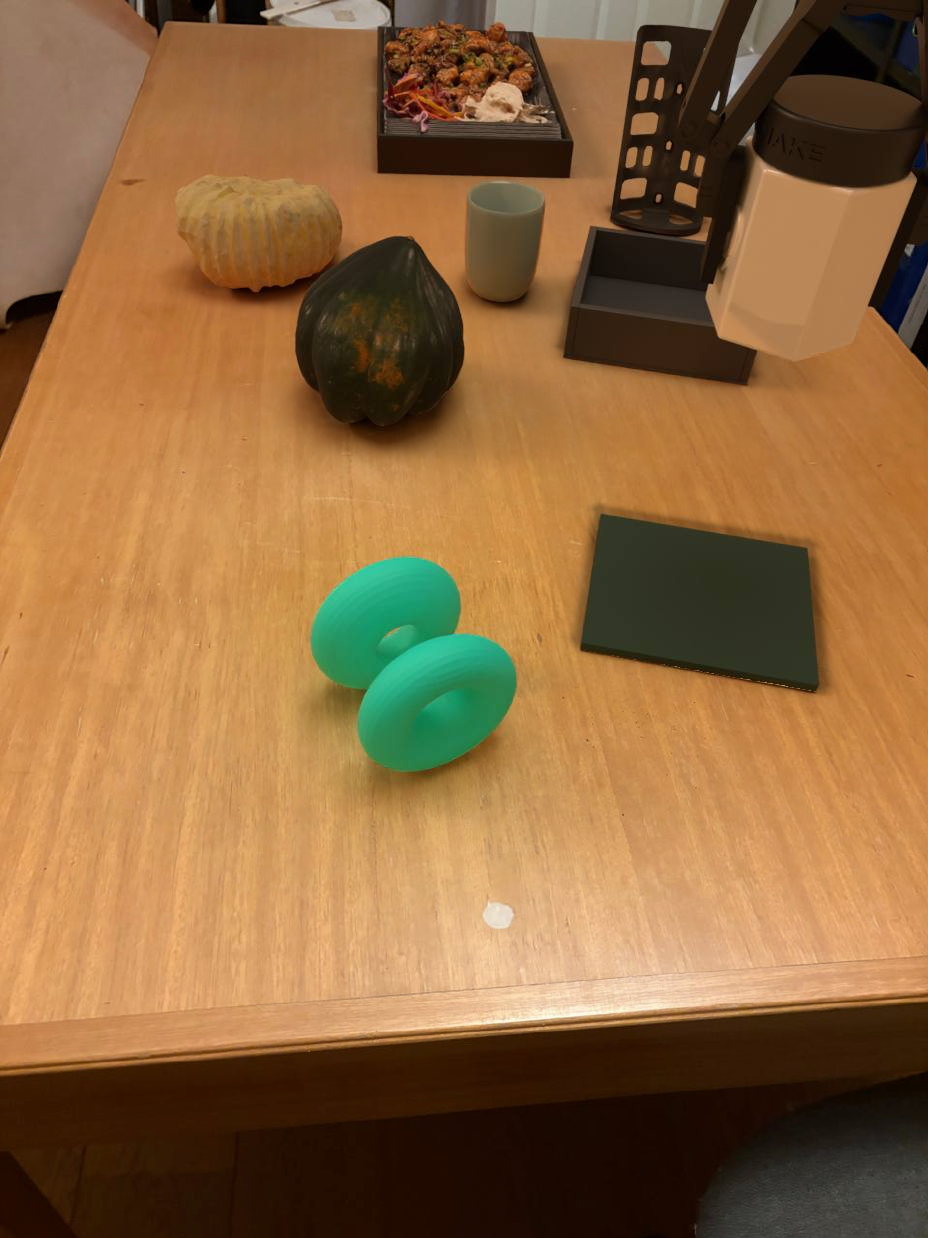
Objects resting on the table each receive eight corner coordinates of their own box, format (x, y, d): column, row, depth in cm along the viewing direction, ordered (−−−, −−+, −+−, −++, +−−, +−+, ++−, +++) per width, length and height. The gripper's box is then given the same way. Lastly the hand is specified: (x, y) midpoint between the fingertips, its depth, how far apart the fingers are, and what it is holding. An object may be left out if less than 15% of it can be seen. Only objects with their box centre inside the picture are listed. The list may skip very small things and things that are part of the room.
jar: (694, 282, 58) (747, 66, 49) (824, 289, 58) (900, 75, 49) (720, 360, 51) (785, 129, 43) (865, 367, 52) (960, 139, 43)
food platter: (569, 177, 119) (580, 89, 112) (377, 172, 118) (375, 82, 110) (530, 63, 150) (537, -12, 142) (377, 57, 148) (376, -19, 140)
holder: (609, 231, 109) (642, 31, 95) (604, 210, 114) (635, 19, 101) (703, 238, 109) (749, 40, 96) (693, 217, 114) (735, 28, 101)
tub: (745, 296, 100) (759, 248, 96) (746, 385, 88) (763, 333, 84) (582, 274, 102) (590, 225, 98) (563, 357, 90) (570, 305, 86)
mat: (804, 555, 72) (807, 547, 71) (815, 693, 62) (819, 685, 62) (599, 520, 74) (600, 513, 73) (579, 650, 64) (581, 642, 63)
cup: (453, 304, 96) (458, 206, 88) (471, 270, 101) (476, 175, 94) (527, 316, 95) (538, 218, 87) (541, 281, 100) (552, 186, 93)
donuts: (444, 636, 64) (450, 527, 57) (517, 742, 58) (534, 636, 51) (309, 685, 61) (296, 576, 53) (372, 804, 55) (368, 699, 48)
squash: (241, 375, 75) (358, 252, 67) (291, 293, 86) (398, 178, 77) (371, 486, 81) (494, 386, 73) (403, 397, 92) (513, 301, 83)
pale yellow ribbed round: (357, 309, 99) (324, 218, 106) (359, 220, 90) (324, 127, 97) (195, 328, 95) (172, 232, 101) (181, 237, 85) (156, 138, 92)
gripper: (688, -280, 35) (596, 287, 51) (1294, -230, 33) (994, 345, 49) (694, -290, 40) (608, 230, 56) (1220, -247, 38) (970, 280, 54)
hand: (788, 283), depth 53 cm, fingers closed on jar, 8 cm apart
